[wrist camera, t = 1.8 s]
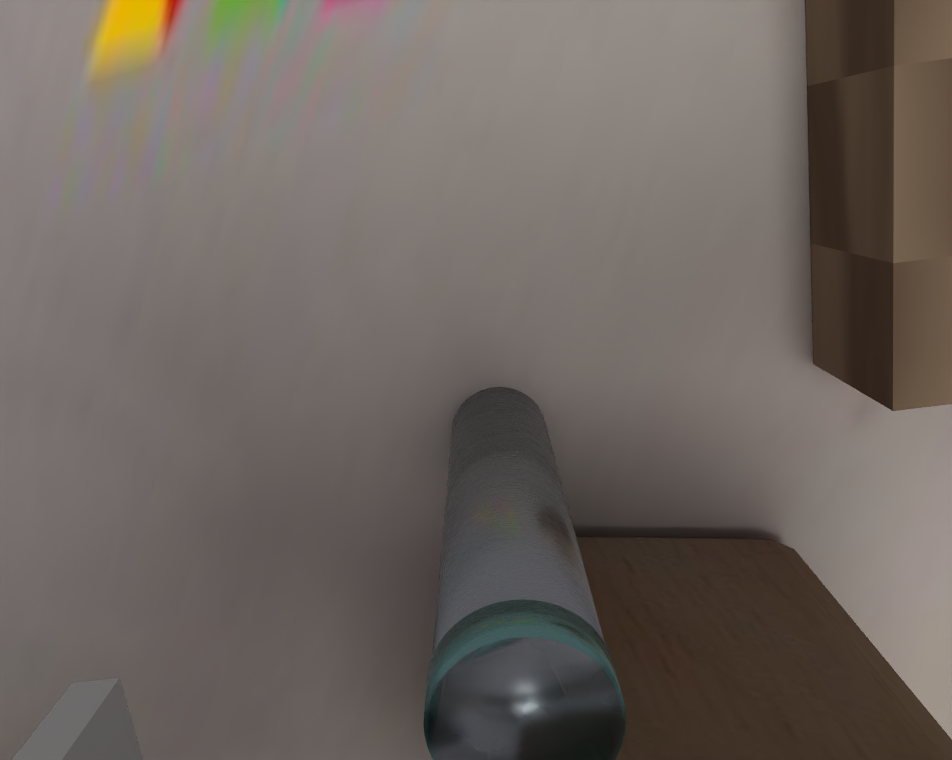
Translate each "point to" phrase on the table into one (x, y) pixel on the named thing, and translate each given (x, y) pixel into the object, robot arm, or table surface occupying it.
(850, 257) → the socket block
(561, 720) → the peg
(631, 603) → the wooden block
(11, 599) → the table surface
